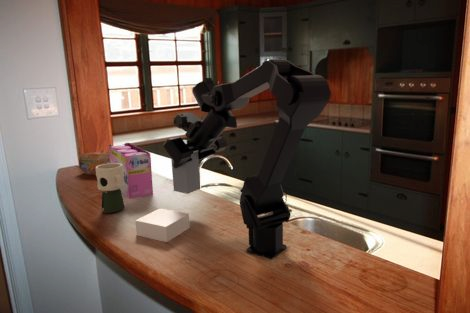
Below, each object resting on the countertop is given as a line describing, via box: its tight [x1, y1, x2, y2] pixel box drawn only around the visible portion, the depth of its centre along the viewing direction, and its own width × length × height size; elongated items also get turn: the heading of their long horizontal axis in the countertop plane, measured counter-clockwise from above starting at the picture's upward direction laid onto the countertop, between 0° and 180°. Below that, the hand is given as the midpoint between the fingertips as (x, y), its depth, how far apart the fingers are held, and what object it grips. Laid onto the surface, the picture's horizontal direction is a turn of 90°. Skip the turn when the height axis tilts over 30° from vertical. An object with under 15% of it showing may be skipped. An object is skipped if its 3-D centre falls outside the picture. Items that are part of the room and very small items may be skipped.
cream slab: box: [134, 208, 191, 243], centre depth 91 cm, size 9×9×4 cm
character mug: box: [95, 163, 126, 214], centre depth 105 cm, size 11×7×13 cm, turn 45°
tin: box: [78, 152, 110, 176], centre depth 146 cm, size 15×3×8 cm, turn 73°
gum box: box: [108, 142, 154, 199], centre depth 126 cm, size 24×8×14 cm, turn 32°
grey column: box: [170, 139, 201, 195], centre depth 100 cm, size 5×5×13 cm
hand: (181, 164), depth 100 cm, fingers closed on grey column, 5 cm apart
